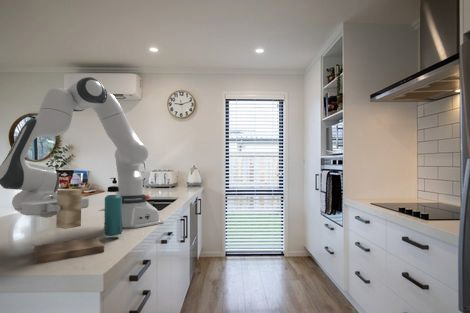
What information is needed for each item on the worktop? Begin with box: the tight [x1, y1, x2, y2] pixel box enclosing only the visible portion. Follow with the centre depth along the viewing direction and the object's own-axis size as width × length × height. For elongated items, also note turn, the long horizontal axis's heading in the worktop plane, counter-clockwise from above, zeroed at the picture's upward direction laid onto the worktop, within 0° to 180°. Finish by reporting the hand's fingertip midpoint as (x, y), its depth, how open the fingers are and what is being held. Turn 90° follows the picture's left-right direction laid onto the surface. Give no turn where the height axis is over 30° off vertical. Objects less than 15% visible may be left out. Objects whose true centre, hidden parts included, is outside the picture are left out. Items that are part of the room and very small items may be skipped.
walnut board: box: [33, 236, 105, 265], centre depth 92 cm, size 18×14×2 cm
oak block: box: [55, 188, 83, 230], centre depth 92 cm, size 5×5×12 cm
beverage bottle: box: [103, 185, 123, 237], centre depth 110 cm, size 6×7×20 cm
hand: (70, 206), depth 92 cm, fingers closed on oak block, 5 cm apart
